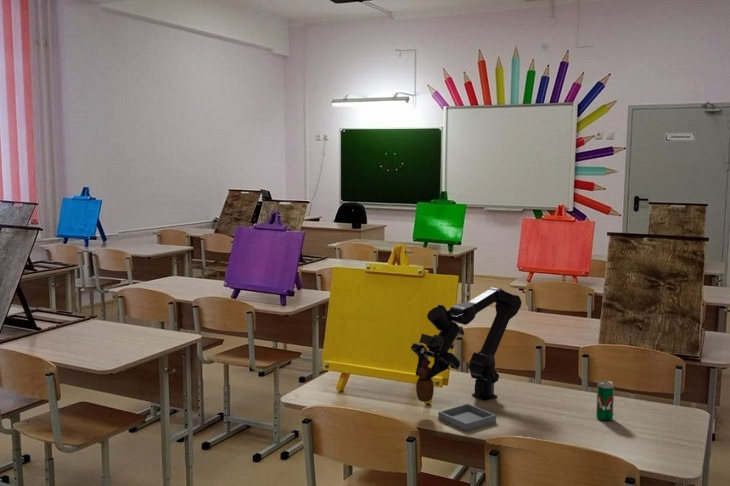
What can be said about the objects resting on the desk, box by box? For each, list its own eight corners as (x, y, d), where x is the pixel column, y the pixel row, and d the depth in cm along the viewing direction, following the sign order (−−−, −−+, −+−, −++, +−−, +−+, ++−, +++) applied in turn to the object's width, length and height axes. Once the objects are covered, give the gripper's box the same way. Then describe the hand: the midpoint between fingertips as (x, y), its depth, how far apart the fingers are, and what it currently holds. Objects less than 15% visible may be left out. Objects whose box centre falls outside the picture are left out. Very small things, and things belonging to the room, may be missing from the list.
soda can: (612, 416, 219) (613, 381, 218) (613, 422, 215) (614, 386, 213) (596, 415, 221) (597, 379, 220) (596, 420, 216) (597, 384, 215)
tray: (467, 410, 226) (467, 403, 226) (496, 422, 215) (496, 414, 215) (438, 419, 218) (438, 411, 218) (466, 431, 208) (466, 424, 208)
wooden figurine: (433, 404, 218) (433, 359, 216) (415, 403, 218) (415, 358, 216) (433, 396, 225) (433, 352, 223) (416, 396, 225) (416, 352, 223)
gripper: (414, 319, 228) (389, 357, 223) (453, 329, 213) (428, 370, 208) (431, 337, 234) (407, 375, 228) (471, 349, 219) (446, 389, 214)
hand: (421, 377), depth 220 cm, fingers closed on wooden figurine, 5 cm apart
